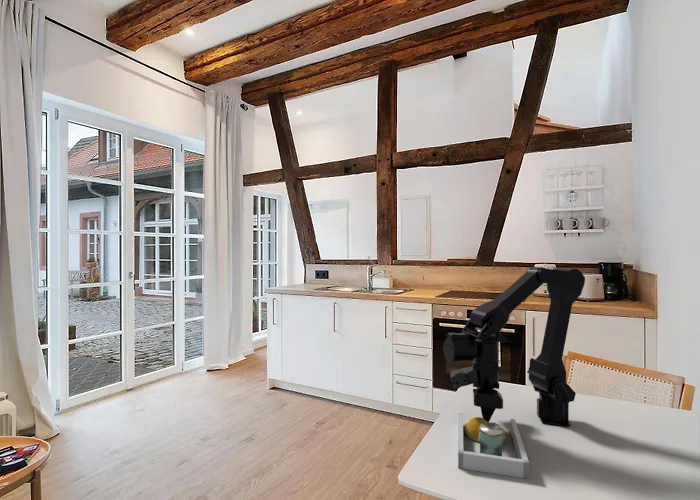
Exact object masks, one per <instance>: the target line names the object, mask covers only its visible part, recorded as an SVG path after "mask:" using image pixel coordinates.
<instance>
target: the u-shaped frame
mask: <svg viewBox="0 0 700 500" xmlns="http://www.w3.org/2000/svg"><path fill="white" fill-rule="evenodd" d="M509 422H510V423H509V424H510V427H509V428H510V429H509V430H510V431H509V432H510V435H511V438H512V442H513V446H514V448H515V449H514V450H515V452H516V456H517V458H514V457H508V456H503V455H502V456H495V455H488V454H481V453H480V452H475V451H467V450H464V413H462V412H459V413H458V437H457V439H458V440H457V441H458V442H457V443H458V444H457V445H458V446H457V447H458V448H457V449H458V450H457V456H458V457H457V458H458V459H457V461H458V462H457V463H458V465H457V466H458V467H457V468H459V469H465V470H471V471H477V472H483V473H489V474H497V475H500V476H501V475H502V476H503V475H504V476H508V477H515V478H522V479H527V480H529V479H530V461H529V458H528V455H527V451H526V449H525V446H524V443H523V440H522V437H521V434H520V430H519V429H518V424H517V422H516V419H513V418H510V420H509Z"/></svg>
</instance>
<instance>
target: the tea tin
mask: <svg viewBox="0 0 700 500" xmlns="http://www.w3.org/2000/svg"><path fill="white" fill-rule="evenodd" d="M492 423H493V422H489V423H483V424H481V425H480V443H479V453H481V454H488V455H495V456H502V457H503V443H502V434H503V429H504V428H503V426H501V425H500V426H501V427H500V426H498V425H499V424H498V425H496V424H497V423H496V424H492ZM502 428H503V429H502Z"/></svg>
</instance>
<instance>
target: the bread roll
mask: <svg viewBox="0 0 700 500" xmlns="http://www.w3.org/2000/svg"><path fill="white" fill-rule="evenodd" d="M483 423H490V421H489V422H488V421H486V420H485V419H483V418H482V417H478V416H475V417H472V418H470V419H469V420H468V421H467V422H465V424H463V433H464V434H465V435H466V436H467V438H469V439H470V440H472V441H475V442H479V444H480V425H481V424H483ZM491 423H492V424H496V425H498V426H500V427H502V426H501V425H500V424H498V423H496V422H491ZM502 429H503V434H502V444H503V443H505V441H506V432H505V429H504V428H503V427H502Z"/></svg>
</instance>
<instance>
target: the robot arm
mask: <svg viewBox="0 0 700 500" xmlns="http://www.w3.org/2000/svg"><path fill="white" fill-rule="evenodd" d="M543 284H546V289H547V293H548V295H549V299H550V303H549V309H548V314H547V319H546V324H545V330H544V333H543V335H544V336H543V340H542V345H541V350H540V351H541V352H540V353H539V355H538V356H537V357H536V358H533V357H531V358H529V359H530V360H529V366H528V370H527V372H526V373H527V374H528V380H529V381H530V384H531V385H532V387H533V390H534V391H535V392H537V393H538V398H537V399H536V415H537V417H538V418H539V419H540V422H541V423H542V424H546V425H554V426H555V425H556V426H564V427H572V425H571V424H572V423H570V421H569V416H570V414H569V408H570V407H569V406H570V405H569V404H570V403H571V402H575V399H576V392H575V390H574V389H573V388H572V387H571V386H570V385H569V384H568V383H567V371H566V368H565V367H566V366H565V364H564V362H563V357H564V351H565V347H566V345H565V344H566V340H567V336H568V335H567V334H568V329H569V326H570V325H569V323H570V320H571V319H570V318H571V313H572V308H573V304H574V303H575V302H576V301H577V300H578V299H579V297H580V296H581V295H582V292H583V289H584V286H585V285H586V276H585V275H584V274H583V272H582V271H581V270H579V269H578V268H567V267H566V268H565V267H564V268H563V267H555V268H553V269H550V268H547V267H543V266H530V267H529V268H527V270H526V271H525V272H524V274H522V275H521V276H520V277H519V278H518V279H517V280H515V282H513V283H512V284H511V285H509V287H507V289H505V290H504V291H503V292H502V293H500V294H499V295H498V296H497V297H496V298H494V299H492V300H490V301H488V302H484V303H482V304H480V305H479V306H477V307H475V308H474V309H473V310H472V311H471V313H470V318H469V319H468V320H467V322H466V323H465V325H464V326H463V328H462V330H461V332H457V333H456V332H448V333H447V337H446V339H445V340H444V342H443V344H442V345H443V346H442V351H443V354H444V357H445V360H446V361H447V362H448V363H459V362H471V363H472V364H471V365H472V366H468V367H467V366H466V367H462V368H459V369H455V370H452V371H450V373H449V374H450V375H449V376H450V380H451V383H452V385H453V387H454V389H461V388H462V387H467V386H470V385H472V387H473V389H472V393H473V395H472V396H473V406H475V407H478V408H480V412H481V418H483V419H485V420H486V421H488V422H489V423H490V420H491V419H492V417H493V414H494V413H495V412H496V409H497V410H501V409H502V410H503V409H504V399H503V395H502V394H501V392H500V391H498V390H500V381H499V372H500V365H499V359H500V358H499V352H500V351H499V350H500V349H499V345H500V344H499V343H503V342H505V343H506V342H507V341H508V339H507V338H506V337H505V336H504V335H503V334H502V333H501V331H502V329H504V327H505V326H506V325H507V323H508V322H509V320H510V315H511V313H512V312H513V311H514V310H515V309H517V308H518V307H519V306H520V305H521V304H522V303H523V302H524V301H525V300H527V299H528V298H529V297H530V296H531V295H532V294H533V293H535V291H537V290H538V289H539V288H540V287H541V286H543Z"/></svg>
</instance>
